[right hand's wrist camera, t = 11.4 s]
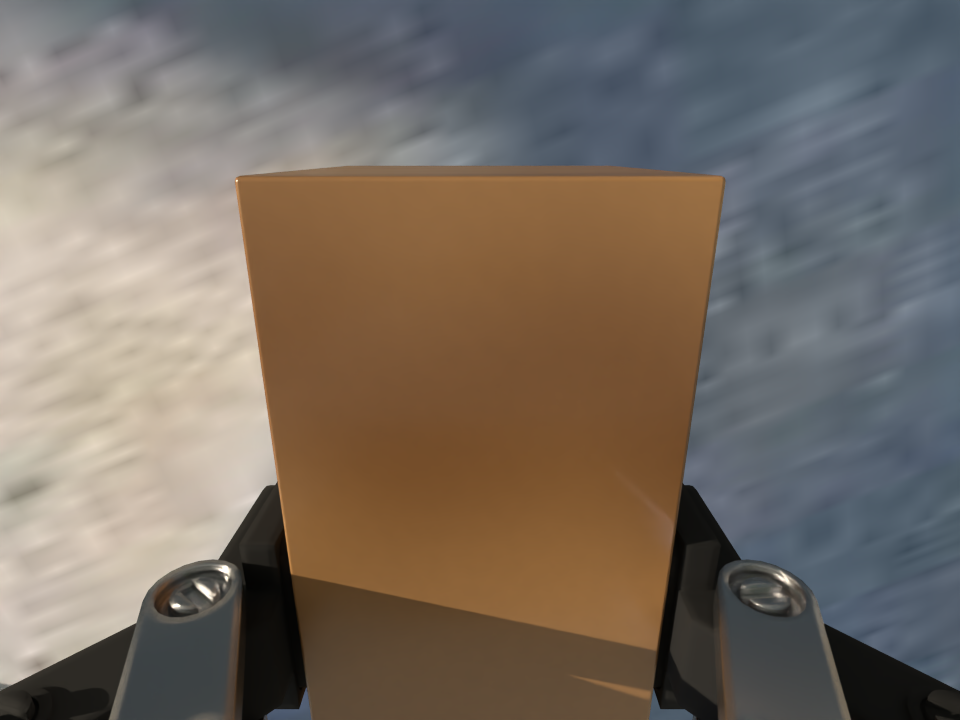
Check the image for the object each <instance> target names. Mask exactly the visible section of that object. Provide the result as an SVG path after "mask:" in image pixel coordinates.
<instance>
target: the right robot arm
mask: <svg viewBox="0 0 960 720" xmlns="http://www.w3.org/2000/svg"><path fill="white" fill-rule="evenodd" d="M306 688H307V684H306V677H305V670H304V663H303V656H302V649H301V642H300V635H299V628H298V621H297V614H296V607H295V600H294V592H293V585H292V578H291V571H290V564H289V557H288V550H287V543H286V536H285V529H284V522H283V515H282V508H281V501H280V494H279V487H278V482H277V483H276V485H269V486H266V487H265V488H264V490H263V491H262V492H261V494H260V496H259V497H258V499H257V500H256V502H255V503H254V505H253V506H252V508H251V510H250V511H249V513H248V514H247V516H246V517H245V519H244V520H243V522H242V524H241V525H240V527H239V528H238V530H237V531H236V533H235V535H234V536H233V538H232V539H231V541H230V542H229V544H228V545H227V547H226V549H225V550H224V552H223V553H222V555H221V556H220V558H219V560H204V561H198V562H194V563H191V564H187V565H184V566H182V567H180V568H178V569H176V570H173V571H171V572H169V573H168V574H167V575H165V576H164V577H162V578H161V579H159V580H158V581H157V582H156V583H155V584H154V585H153V586H152V587H151V588H150V589H149V590H148V592H147V594H146V596H145V598H144V600H143V602H142V606H141V609H140V613H139V616H138V620H137V623H136V624H134V625H132V626H130V627H128V628H126V629H124V630H122V631H120V632H118V633H116V634H114V635H112V636H110V637H108V638H106V639H104V640H102V641H100V642H98V643H96V644H94V645H92V646H90V647H88V648H86V649H84V650H82V651H80V652H78V653H76V654H74V655H72V656H70V657H68V658H66V659H64V660H62V661H60V662H58V663H56V664H53V665H51V666H49V667H47V668H45V669H43V670H41V671H39V672H37V673H35V674H33V675H31V676H29V677H27V678H25V679H23V680H21V681H19V682H17V683H15V684H13V685H11V686H9V687H7V688H5V689H3V690H1V691H0V720H268V719H267V714H268V713H270V712H271V711H273V710H274V709H299V707H300V704H301V701H302V698H303V695H304V692H305V689H306ZM653 688H654V690H655V694H656V697H657V700H658V703H659V706H660V709H685V710H687V711H688V712H690V713H691V714H693V719H692V720H960V691H958V690H956V689H954V688H952V687H950V686H948V685H946V684H944V683H942V682H940V681H938V680H936V679H934V678H932V677H930V676H928V675H926V674H924V673H922V672H920V671H918V670H916V669H914V668H912V667H910V666H908V665H906V664H904V663H902V662H900V661H898V660H896V659H894V658H892V657H890V656H888V655H886V654H884V653H882V652H880V651H878V650H876V649H874V648H872V647H870V646H868V645H866V644H864V643H862V642H860V641H858V640H856V639H854V638H852V637H850V636H848V635H846V634H844V633H842V632H840V631H838V630H836V629H834V628H832V627H830V626H828V625H826V624H824V623H823V620H822V616H821V613H820V609H819V606H818V602H817V600H816V598H815V596H814V594H813V592H812V590H811V589H810V588H809V587H808V586H807V585H806V584H805V583H804V582H803V581H802V580H801V579H799V578H798V577H796V576H795V575H793V574H792V573H791V572H789V571H787V570H784V569H782V568H780V567H778V566H776V565H773V564H769V563H766V562H762V561H756V560H741V559H740V557H739V556H738V554H737V553H736V551H735V549H734V548H733V546H732V545H731V543H730V542H729V540H728V539H727V537H726V535H725V534H724V532H723V531H722V529H721V528H720V526H719V524H718V523H717V521H716V520H715V518H714V517H713V515H712V514H711V512H710V510H709V509H708V507H707V506H706V504H705V503H704V501H703V500H702V498H701V496H700V495H699V493H698V492H697V490H696V489H695V488H694V487H693V486H690V485H684V484H683V483H682V490H681V497H680V504H679V511H678V518H677V525H676V532H675V539H674V546H673V553H672V560H671V567H670V574H669V581H668V588H667V595H666V603H665V610H664V617H663V624H662V631H661V638H660V645H659V652H658V659H657V666H656V673H655V680H654V687H653Z"/></svg>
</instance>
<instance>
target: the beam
mask: <svg viewBox="0 0 960 720" xmlns="http://www.w3.org/2000/svg"><path fill="white" fill-rule="evenodd" d="M235 185H236V192H237V199H238V206H239V213H240V220H241V227H242V234H243V241H244V248H245V255H246V262H247V269H248V276H249V283H250V290H251V297H252V304H253V311H254V318H255V325H256V332H257V340H258V347H259V354H260V361H261V368H262V375H263V382H264V389H265V396H266V403H267V410H268V417H269V424H270V431H271V438H272V445H273V452H274V459H275V466H276V473H277V480H278V487H279V494H280V501H281V508H282V515H283V522H284V529H285V536H286V543H287V550H288V557H289V564H290V571H291V578H292V585H293V592H294V600H295V607H296V614H297V621H298V628H299V635H300V642H301V649H302V656H303V663H304V670H305V677H306V684H307V691H308V698H309V705H310V712H311V719H312V720H649V715H650V708H651V701H652V694H653V687H654V680H655V673H656V666H657V659H658V652H659V645H660V638H661V631H662V624H663V617H664V610H665V603H666V595H667V588H668V581H669V574H670V567H671V560H672V553H673V546H674V539H675V532H676V525H677V518H678V511H679V504H680V497H681V490H682V483H683V476H684V469H685V462H686V455H687V448H688V441H689V434H690V427H691V420H692V413H693V406H694V399H695V392H696V385H697V378H698V371H699V364H700V357H701V350H702V343H703V336H704V329H705V322H706V315H707V308H708V301H709V294H710V287H711V280H712V273H713V266H714V259H715V252H716V245H717V238H718V231H719V224H720V217H721V210H722V203H723V196H724V189H725V178H724V177H722V176H717V175H706V174H695V173H683V172H672V171H661V170H650V169H639V168H628V167H617V166H342V167H331V168H320V169H309V170H299V171H288V172H277V173H266V174H255V175H244V176H239V177H237V178H236V180H235Z"/></svg>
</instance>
